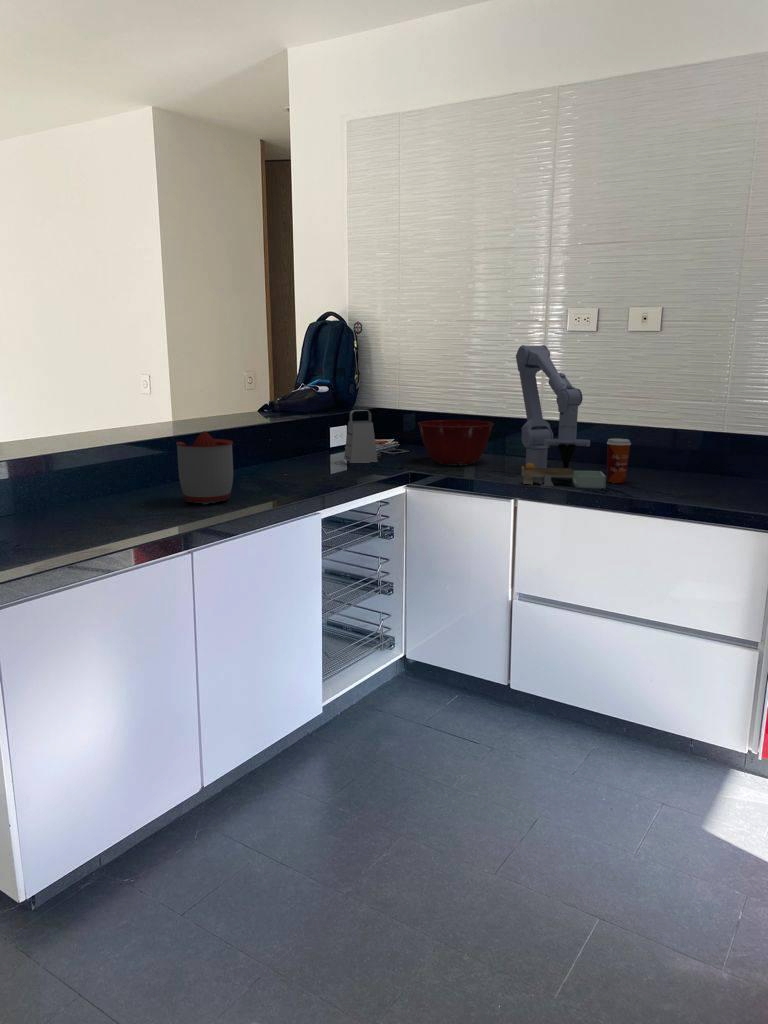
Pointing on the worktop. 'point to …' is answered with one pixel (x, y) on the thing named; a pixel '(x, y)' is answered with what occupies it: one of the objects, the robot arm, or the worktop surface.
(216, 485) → the citrus juicer
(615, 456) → the paper cup
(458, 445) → the mixing bowl
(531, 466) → the ball
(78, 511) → the worktop surface
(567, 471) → the wooden ramp
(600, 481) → the tray
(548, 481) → the stand
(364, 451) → the grater
